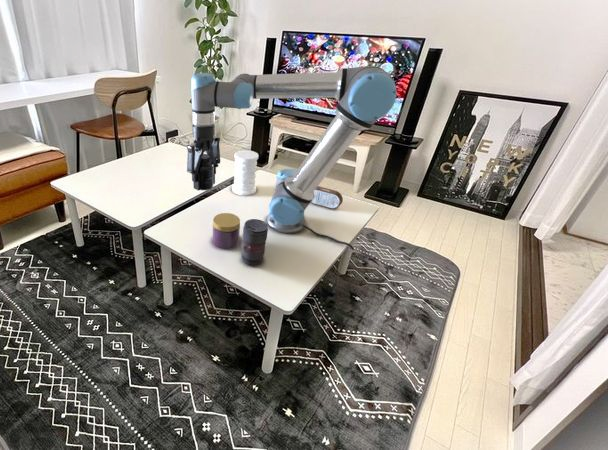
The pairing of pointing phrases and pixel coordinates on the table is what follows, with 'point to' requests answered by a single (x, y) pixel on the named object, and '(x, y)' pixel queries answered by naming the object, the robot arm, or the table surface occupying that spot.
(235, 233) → the jar
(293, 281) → the table surface
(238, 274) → the table surface
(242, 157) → the decorative container
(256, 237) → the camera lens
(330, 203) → the tin
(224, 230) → the jar lid
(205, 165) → the supplement bottle
